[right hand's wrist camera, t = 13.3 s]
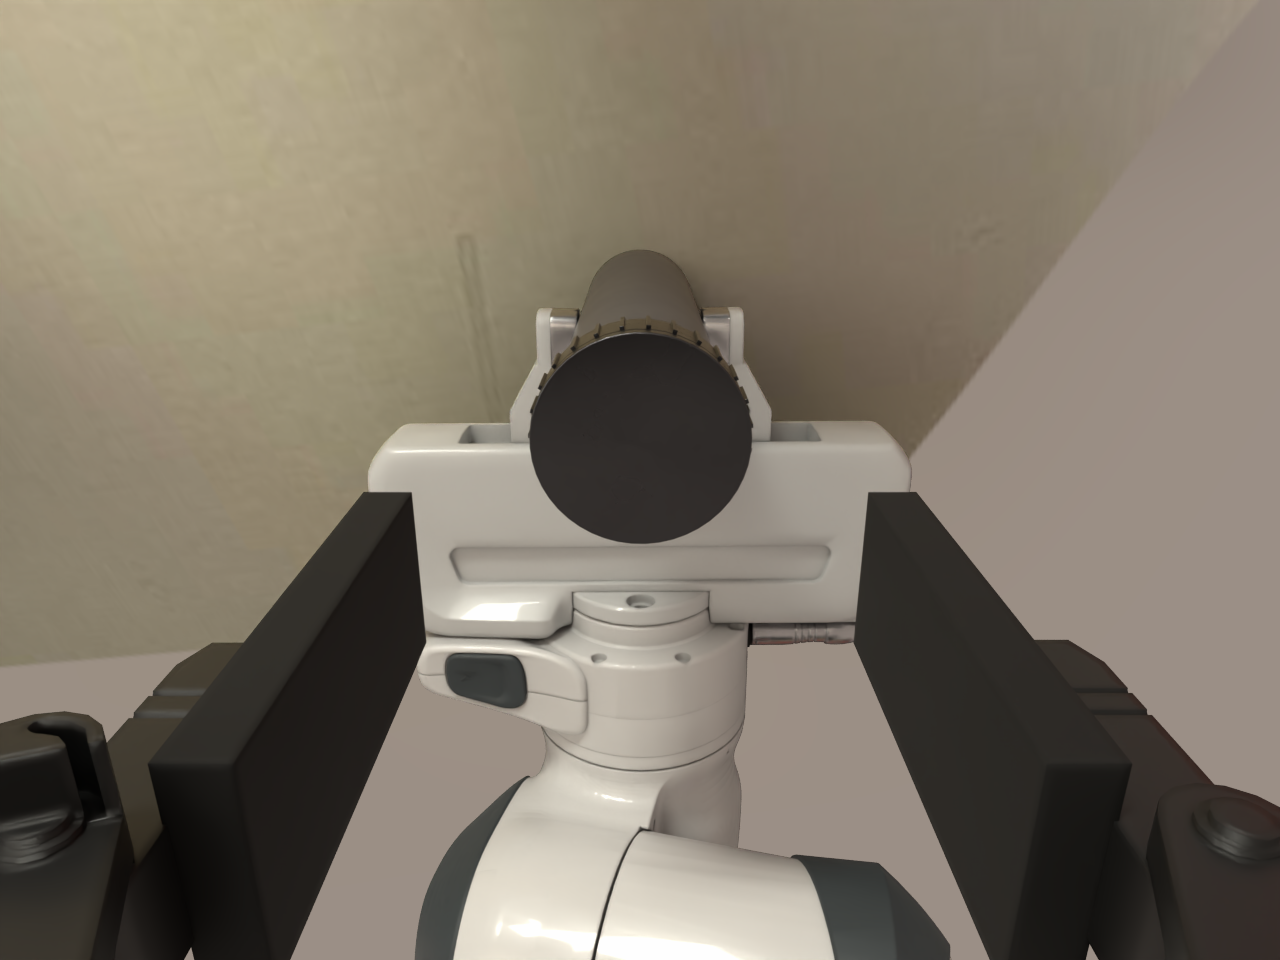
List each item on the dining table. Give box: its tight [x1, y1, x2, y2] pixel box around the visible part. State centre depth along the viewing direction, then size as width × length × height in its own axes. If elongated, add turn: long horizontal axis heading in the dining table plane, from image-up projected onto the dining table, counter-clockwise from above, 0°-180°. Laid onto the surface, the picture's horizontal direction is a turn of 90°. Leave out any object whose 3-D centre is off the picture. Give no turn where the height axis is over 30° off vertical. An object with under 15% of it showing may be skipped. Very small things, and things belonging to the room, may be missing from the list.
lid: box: [528, 315, 753, 544], centre depth 21 cm, size 5×5×2 cm
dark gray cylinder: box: [570, 250, 710, 345], centre depth 30 cm, size 4×4×19 cm
